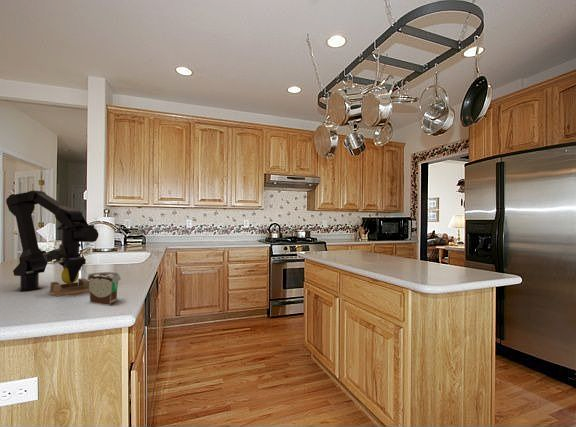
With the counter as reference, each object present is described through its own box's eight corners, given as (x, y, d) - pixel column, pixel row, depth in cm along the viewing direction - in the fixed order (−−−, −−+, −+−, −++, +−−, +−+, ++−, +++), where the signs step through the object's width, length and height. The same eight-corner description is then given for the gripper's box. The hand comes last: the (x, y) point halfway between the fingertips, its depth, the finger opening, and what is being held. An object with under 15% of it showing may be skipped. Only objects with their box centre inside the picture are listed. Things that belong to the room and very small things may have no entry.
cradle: (49, 292, 118) (49, 282, 118) (83, 287, 127) (83, 277, 127) (54, 296, 112) (54, 286, 112) (90, 291, 121) (90, 281, 121)
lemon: (69, 287, 116) (69, 266, 116) (57, 286, 117) (57, 265, 117) (81, 283, 122) (82, 264, 122) (70, 283, 123) (70, 263, 123)
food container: (128, 301, 108) (128, 273, 108) (113, 305, 102) (113, 276, 102) (102, 297, 112) (103, 270, 112) (87, 302, 106) (87, 273, 106)
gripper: (40, 241, 120) (39, 280, 120) (50, 244, 107) (49, 288, 107) (73, 239, 128) (73, 275, 128) (86, 242, 116) (85, 283, 116)
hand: (69, 280), depth 119 cm, fingers closed on lemon, 5 cm apart
